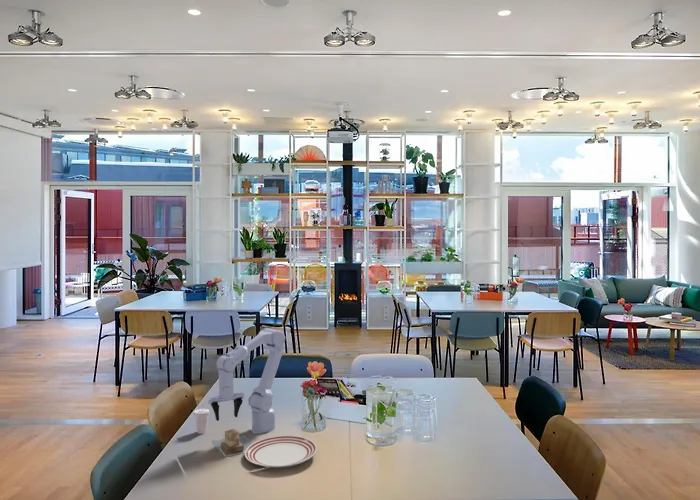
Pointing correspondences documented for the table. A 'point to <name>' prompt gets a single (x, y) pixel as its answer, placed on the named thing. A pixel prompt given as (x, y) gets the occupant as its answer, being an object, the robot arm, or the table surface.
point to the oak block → (232, 437)
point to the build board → (244, 441)
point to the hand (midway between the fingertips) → (226, 418)
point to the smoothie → (201, 419)
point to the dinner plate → (280, 451)
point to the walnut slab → (232, 448)
